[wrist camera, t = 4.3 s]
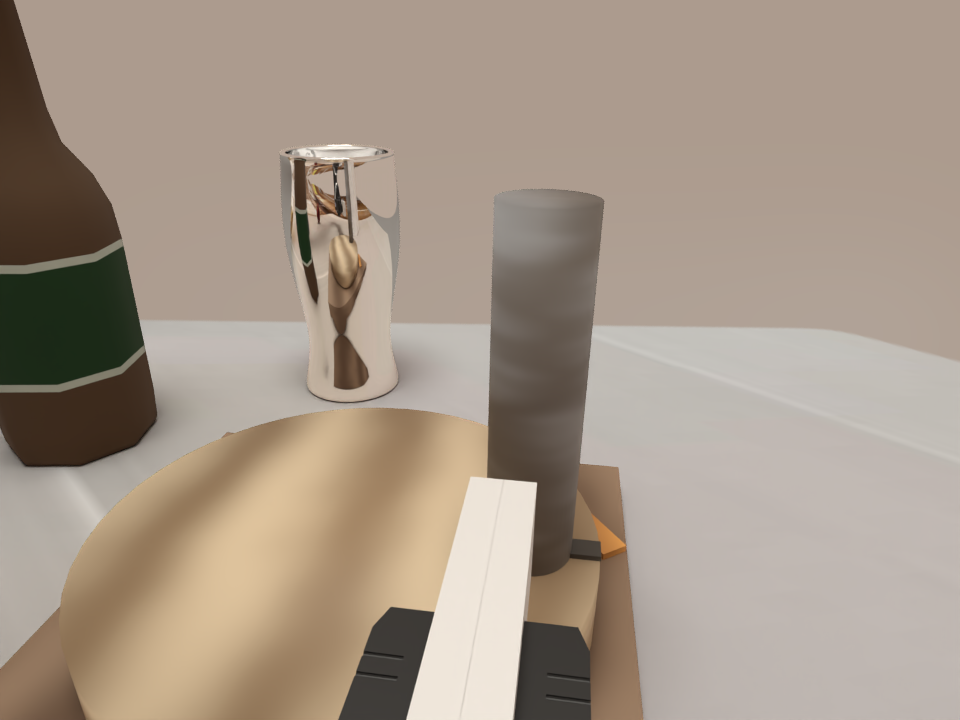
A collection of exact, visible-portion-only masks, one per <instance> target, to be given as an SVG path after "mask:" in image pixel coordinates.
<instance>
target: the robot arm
mask: <svg viewBox="0 0 960 720" xmlns="http://www.w3.org/2000/svg"><path fill="white" fill-rule="evenodd" d="M536 491H537V483H535V482H524V481H514V480H503V479H492V478H482V477H470V481H469V485H468V488H467V492H466V496H465V500H464V504H463V507H462V511H461V515H460V519H459V522H458V526H457V530H456V534H455V538H454V541H453V545H452V549H451V553H450V556H449V560H448V564H447V568H446V572H445V575H444V579H443V583H442V587H441V590H440V594H439V598H438V602H437V606H436V609H435V612H431V611H423V610H414V609H406V608H398V607H390V608H389V609H388V610H387V611H386V613H385V614H384V615H383V616H382V617H381V618H380V619H379V620H378V621H377V622H376V623H375V624H374V625H373V627H372V629H371V632H370V635H369V637H368V640H367V643H366V646H365V648H364V652H363V656H361V659H360V662H359V665H358V667H357V670H356V675H355V676H354V678H353V681H352V684H351V686H350V689H349V692H348V694H347V697H346V700H345V702H344V705H343V708H342V711H341V713H340V716H339V719H338V720H591V683H590V651H589V649H588V647H587V644H586V642H585V640H584V638H583V636H582V634H581V632H580V630H579V628H578V627H571V626H563V625H554V624H546V623H537V622H529V621H527V615H528V604H529V594H530V583H531V570H532V554H533V539H534V523H535V507H536Z"/></svg>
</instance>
